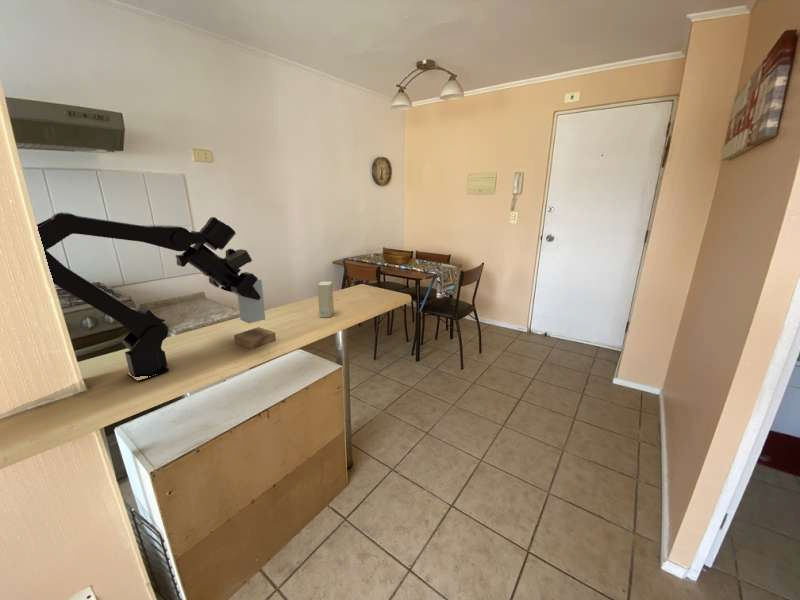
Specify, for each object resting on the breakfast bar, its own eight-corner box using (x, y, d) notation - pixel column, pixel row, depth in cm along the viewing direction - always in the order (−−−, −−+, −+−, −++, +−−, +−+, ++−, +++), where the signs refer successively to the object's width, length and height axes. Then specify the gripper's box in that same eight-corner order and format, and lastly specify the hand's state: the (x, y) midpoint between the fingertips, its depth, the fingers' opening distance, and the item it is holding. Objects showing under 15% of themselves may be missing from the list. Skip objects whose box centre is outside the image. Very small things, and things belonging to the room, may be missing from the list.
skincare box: (331, 317, 120) (329, 285, 117) (318, 317, 120) (316, 285, 117) (334, 312, 126) (332, 281, 123) (322, 312, 126) (320, 281, 123)
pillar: (248, 323, 94) (244, 282, 91) (240, 319, 98) (235, 279, 94) (265, 319, 98) (261, 279, 95) (256, 315, 101) (253, 277, 98)
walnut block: (252, 350, 94) (250, 341, 93) (235, 344, 98) (234, 335, 97) (275, 341, 100) (275, 332, 99) (259, 336, 104) (258, 327, 103)
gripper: (246, 242, 83) (288, 279, 94) (215, 237, 95) (256, 271, 106) (217, 278, 79) (265, 312, 90) (188, 268, 91) (234, 299, 102)
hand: (255, 297), depth 97 cm, fingers closed on pillar, 5 cm apart
